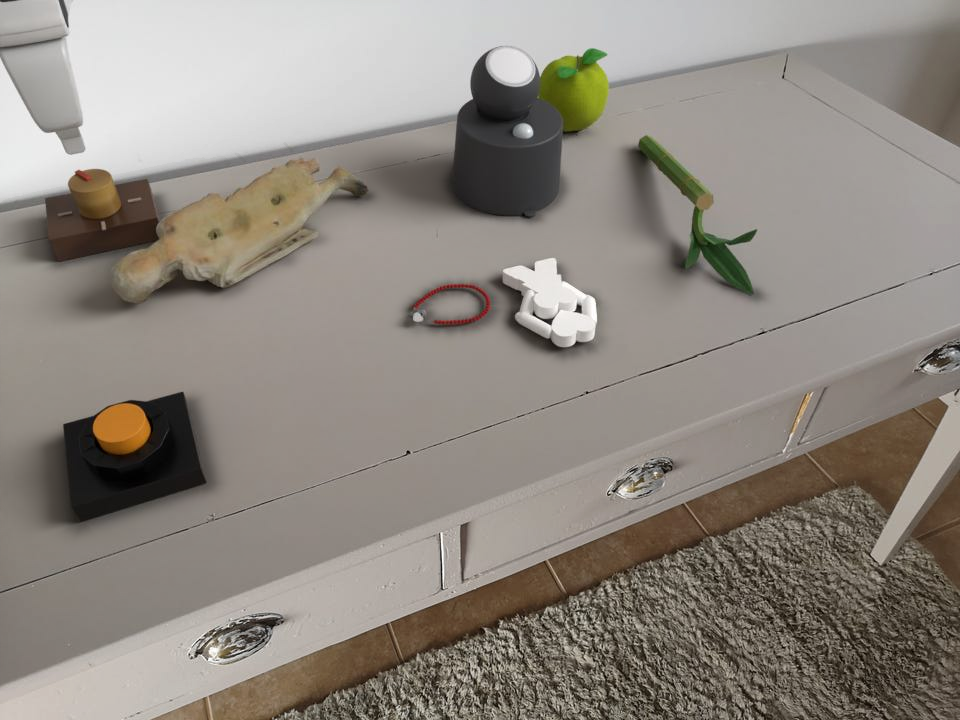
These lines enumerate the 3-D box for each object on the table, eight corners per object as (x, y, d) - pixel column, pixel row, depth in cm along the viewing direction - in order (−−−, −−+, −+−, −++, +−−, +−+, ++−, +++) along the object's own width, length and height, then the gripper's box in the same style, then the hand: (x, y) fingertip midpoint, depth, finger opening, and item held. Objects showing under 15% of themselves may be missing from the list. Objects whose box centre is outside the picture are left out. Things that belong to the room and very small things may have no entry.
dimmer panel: (59, 263, 84) (48, 240, 81) (54, 218, 89) (43, 195, 87) (165, 240, 87) (157, 217, 84) (154, 198, 92) (146, 175, 90)
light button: (102, 461, 62) (95, 448, 61) (97, 424, 65) (90, 411, 63) (154, 446, 63) (148, 433, 62) (147, 410, 66) (141, 397, 65)
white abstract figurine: (538, 355, 76) (539, 338, 75) (491, 288, 84) (491, 272, 83) (617, 333, 79) (620, 316, 77) (564, 270, 87) (565, 254, 86)
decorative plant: (675, 131, 102) (789, 231, 78) (658, 190, 107) (760, 302, 83) (632, 127, 101) (735, 227, 77) (616, 187, 105) (709, 299, 81)
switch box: (80, 522, 62) (62, 495, 59) (71, 439, 68) (54, 410, 65) (207, 483, 65) (195, 455, 62) (189, 406, 71) (178, 377, 68)
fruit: (616, 128, 107) (629, 58, 99) (568, 151, 102) (578, 79, 95) (569, 101, 111) (578, 32, 104) (521, 122, 107) (527, 51, 100)
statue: (315, 150, 95) (104, 294, 82) (317, 109, 89) (89, 258, 75) (375, 204, 94) (171, 359, 80) (382, 167, 87) (161, 328, 74)
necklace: (417, 335, 78) (417, 328, 77) (401, 297, 82) (400, 289, 81) (498, 317, 80) (498, 310, 79) (478, 280, 84) (479, 273, 83)
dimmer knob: (129, 205, 86) (119, 176, 83) (95, 224, 84) (83, 194, 81) (105, 190, 88) (94, 161, 85) (70, 208, 85) (58, 179, 82)
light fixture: (486, 103, 78) (435, 42, 87) (480, 230, 90) (436, 165, 99) (601, 81, 82) (541, 25, 91) (581, 206, 94) (530, 145, 103)
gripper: (-31, -55, 73) (27, 84, 83) (-21, 38, 61) (46, 187, 71) (41, -63, 75) (90, 73, 85) (65, 25, 63) (118, 171, 73)
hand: (70, 125), depth 78 cm, fingers open, 8 cm apart
